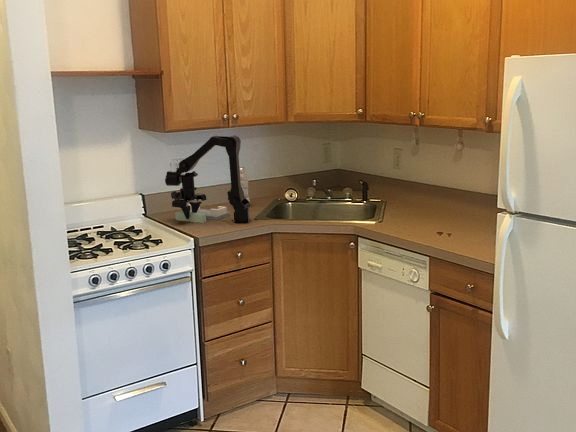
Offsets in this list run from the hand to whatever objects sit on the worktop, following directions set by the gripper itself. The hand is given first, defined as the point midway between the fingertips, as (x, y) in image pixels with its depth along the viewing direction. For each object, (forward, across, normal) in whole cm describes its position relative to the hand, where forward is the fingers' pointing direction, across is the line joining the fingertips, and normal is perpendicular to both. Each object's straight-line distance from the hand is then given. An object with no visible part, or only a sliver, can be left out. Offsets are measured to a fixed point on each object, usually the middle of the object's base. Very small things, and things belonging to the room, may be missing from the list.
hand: (190, 218), depth 311 cm
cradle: (+1, -11, 0) cm, 11 cm away
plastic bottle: (+1, -35, +6) cm, 35 cm away
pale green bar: (+2, 0, 0) cm, 2 cm away
